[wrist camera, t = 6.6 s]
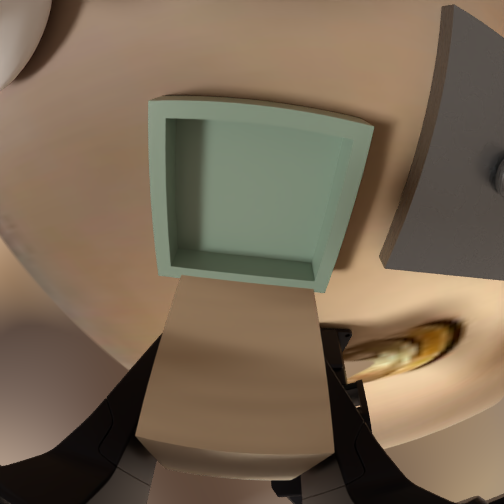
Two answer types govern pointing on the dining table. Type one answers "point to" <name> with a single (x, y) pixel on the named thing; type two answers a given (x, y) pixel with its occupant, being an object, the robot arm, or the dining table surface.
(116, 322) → the dining table surface
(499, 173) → the crank
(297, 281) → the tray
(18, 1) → the flower in vase
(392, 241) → the base
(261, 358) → the block
